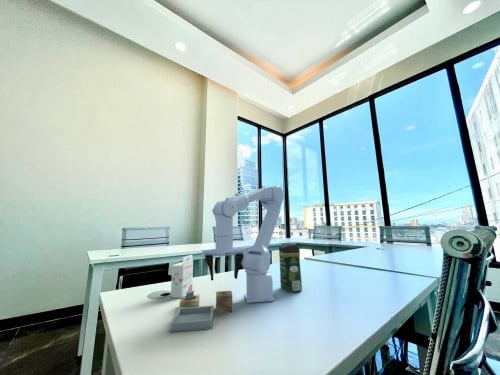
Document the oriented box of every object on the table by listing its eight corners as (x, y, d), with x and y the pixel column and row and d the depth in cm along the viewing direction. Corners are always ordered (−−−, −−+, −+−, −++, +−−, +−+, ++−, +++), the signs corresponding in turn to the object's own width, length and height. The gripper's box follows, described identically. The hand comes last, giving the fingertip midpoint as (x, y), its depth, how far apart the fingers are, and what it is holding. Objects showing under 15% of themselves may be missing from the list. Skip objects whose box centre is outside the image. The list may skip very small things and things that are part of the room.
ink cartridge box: (181, 290, 86) (183, 254, 89) (192, 291, 85) (193, 254, 88) (169, 297, 78) (171, 257, 81) (181, 298, 77) (183, 257, 80)
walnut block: (231, 306, 69) (231, 290, 70) (232, 312, 64) (232, 295, 65) (216, 308, 68) (216, 291, 69) (215, 314, 63) (216, 296, 64)
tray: (213, 312, 64) (213, 305, 64) (212, 328, 54) (212, 320, 54) (178, 315, 62) (178, 308, 63) (171, 332, 52) (171, 323, 53)
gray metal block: (193, 306, 69) (193, 290, 70) (192, 309, 67) (193, 292, 68) (186, 307, 69) (187, 291, 69) (185, 309, 66) (186, 293, 67)
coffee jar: (278, 286, 90) (276, 242, 93) (295, 285, 91) (293, 241, 94) (285, 293, 80) (283, 244, 84) (304, 292, 82) (302, 243, 85)
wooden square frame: (199, 304, 71) (199, 294, 72) (197, 310, 66) (198, 300, 66) (182, 305, 70) (182, 295, 71) (179, 312, 65) (179, 301, 65)
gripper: (243, 234, 75) (243, 274, 73) (202, 236, 72) (201, 277, 70) (247, 235, 69) (247, 279, 66) (202, 237, 65) (201, 282, 63)
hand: (224, 278), depth 67 cm, fingers open, 7 cm apart
